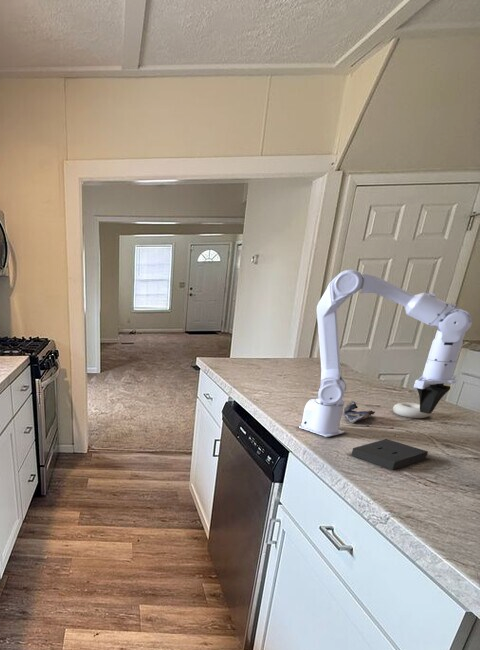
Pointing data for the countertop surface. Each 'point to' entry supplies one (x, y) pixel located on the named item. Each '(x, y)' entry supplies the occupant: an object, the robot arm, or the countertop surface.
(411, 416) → the donut
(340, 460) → the countertop surface
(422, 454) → the tab pad
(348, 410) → the snack package
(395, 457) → the base pad
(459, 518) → the countertop surface
